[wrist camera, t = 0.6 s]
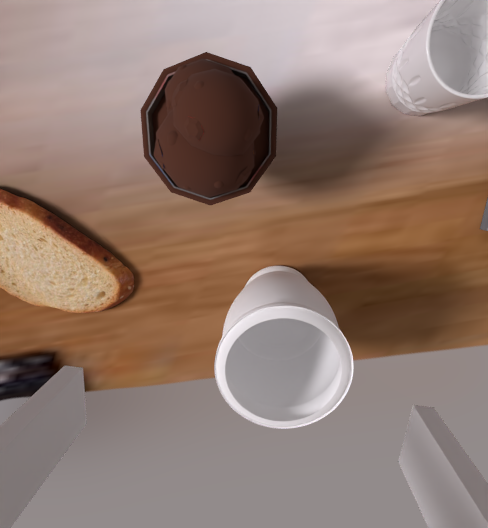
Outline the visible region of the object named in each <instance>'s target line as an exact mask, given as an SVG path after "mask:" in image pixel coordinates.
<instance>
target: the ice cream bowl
mask: <svg viewBox="0 0 488 528" xmlns="http://www.w3.org/2000/svg"><path fill="white" fill-rule="evenodd" d="M141 121H142V134H143V147H144V157H145V158H146V160H147V161H148V162H149V164H150V165H151V166H152V168H153V169H154V170H155V172H156V173H157V174H158V176H159V177H160V178H161V180H162V181H163V182H164V184H165V185H166V186H167V188H168V189H169V190H170V191H171V192H172V193H175V194H178V195H181V196H184V197H187V198H190V199H193V200H196V201H199V202H202V203H205V204H208V205H213V204H216V203H219V202H222V201H225V200H228V199H231V198H234V197H237V196H240V195H243V194H246V193H249V192H251V190H252V189H253V187H254V186H255V185H256V183H257V182H258V180H259V179H260V178H261V176H262V175H263V173H264V172H265V171H266V169H267V168H268V166H269V165H270V164H271V162H272V161H273V159H274V158H275V157H276V131H277V107H276V106H275V104H274V103H273V101H272V99H271V98H270V96H269V95H268V93H267V92H266V90H265V89H264V87H263V86H262V84H261V83H260V81H259V80H258V78H257V76H256V75H255V73H254V72H253V70H252V69H251V67H248V66H245V65H242V64H239V63H237V62H234V61H231V60H228V59H225V58H222V57H219V56H216V55H213V54H210V53H207V52H205V53H203V54H200V55H198V56H196V57H193V58H191V59H188V60H186V61H183V62H181V63H178V64H176V65H174V66H171V67H169V68H166V69H164V70H163V72H162V73H161V75H160V77H159V79H158V80H157V82H156V84H155V86H154V88H153V89H152V91H151V93H150V95H149V96H148V98H147V100H146V102H145V103H144V105H143V107H142V109H141Z"/></svg>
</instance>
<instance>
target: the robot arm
mask: <svg viewBox="0 0 488 528" xmlns="http://www.w3.org/2000/svg"><path fill="white" fill-rule="evenodd" d="M86 424H87V420H86V407H85V392H84V377H83V368H80V367H71V366H64V367H63V368H62V369H61V370H59V371H58V372H57V373H56V374H55V375H54V376H53V377H52V378H51V379H50V380H49V381H48V382H47V383H46V384H44V385H43V386H42V387H41V388H40V389H39V390H38V391H37V392H36V393H35V394H34V395H33V396H32V397H31V398H29V399H28V400H27V401H26V402H25V403H24V404H23V405H22V406H21V407H20V408H19V409H18V410H17V411H15V412H14V414H12V415H11V416H10V417H9V418H8V419H7V420H6V421H5V422H4V423H3V424H2V425H0V528H11V527H12V525H13V524H14V522H15V521H16V520H17V518H18V517H19V516H20V514H21V513H22V511H23V510H24V509H25V507H26V506H27V505H28V503H29V502H30V501H31V499H32V498H33V496H34V495H35V494H36V492H37V491H38V490H39V488H40V487H41V486H42V484H43V483H44V481H45V480H46V479H47V477H48V476H49V474H50V473H51V472H52V471H53V469H54V468H55V466H56V465H57V464H58V462H59V461H60V460H61V458H62V457H63V456H64V454H65V453H66V451H67V450H68V449H69V447H70V446H71V445H72V443H73V442H74V440H75V439H76V438H77V436H78V435H79V434H80V432H81V431H82V430H83V428H84V427H85V425H86ZM398 462H399V464H400V466H401V469H402V471H403V473H404V475H405V477H406V479H407V482H408V484H409V486H410V488H411V491H412V493H413V495H414V497H415V499H416V502H417V504H418V506H419V508H420V510H421V512H422V515H423V517H424V519H425V521H426V524H427V526H428V528H488V483H487V482H486V480H485V479H484V477H483V476H482V475H481V473H480V472H479V470H478V469H477V468H476V466H475V465H474V463H473V462H472V461H471V459H470V458H469V456H468V455H467V454H466V452H465V451H464V449H463V448H462V447H461V445H460V444H459V442H458V441H457V440H456V438H455V437H454V435H453V434H452V432H451V431H450V430H449V428H448V427H447V426H446V424H445V423H444V421H443V420H442V419H441V417H440V416H439V414H438V413H437V412H436V410H435V409H434V407H426V406H418V405H413V408H412V412H411V415H410V419H409V423H408V427H407V431H406V435H405V438H404V442H403V446H402V450H401V454H400V457H399V461H398Z"/></svg>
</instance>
